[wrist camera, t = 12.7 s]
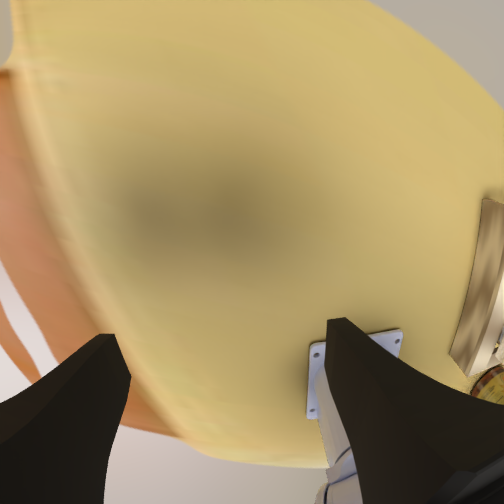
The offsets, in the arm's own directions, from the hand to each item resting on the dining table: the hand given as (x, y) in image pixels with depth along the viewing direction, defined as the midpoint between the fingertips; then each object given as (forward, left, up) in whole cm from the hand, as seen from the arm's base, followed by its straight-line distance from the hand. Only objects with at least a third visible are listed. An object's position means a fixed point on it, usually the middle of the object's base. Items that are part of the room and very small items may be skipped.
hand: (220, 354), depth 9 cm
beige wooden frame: (-5, -24, -10) cm, 27 cm away
